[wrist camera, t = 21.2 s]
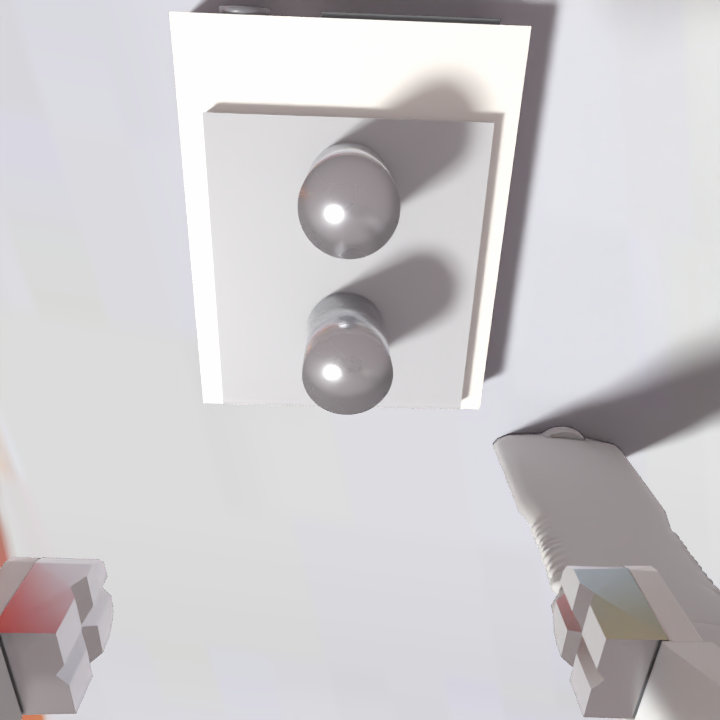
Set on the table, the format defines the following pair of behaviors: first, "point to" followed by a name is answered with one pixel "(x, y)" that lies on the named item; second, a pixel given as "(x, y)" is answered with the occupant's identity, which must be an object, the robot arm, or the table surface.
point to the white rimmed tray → (292, 163)
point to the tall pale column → (600, 517)
